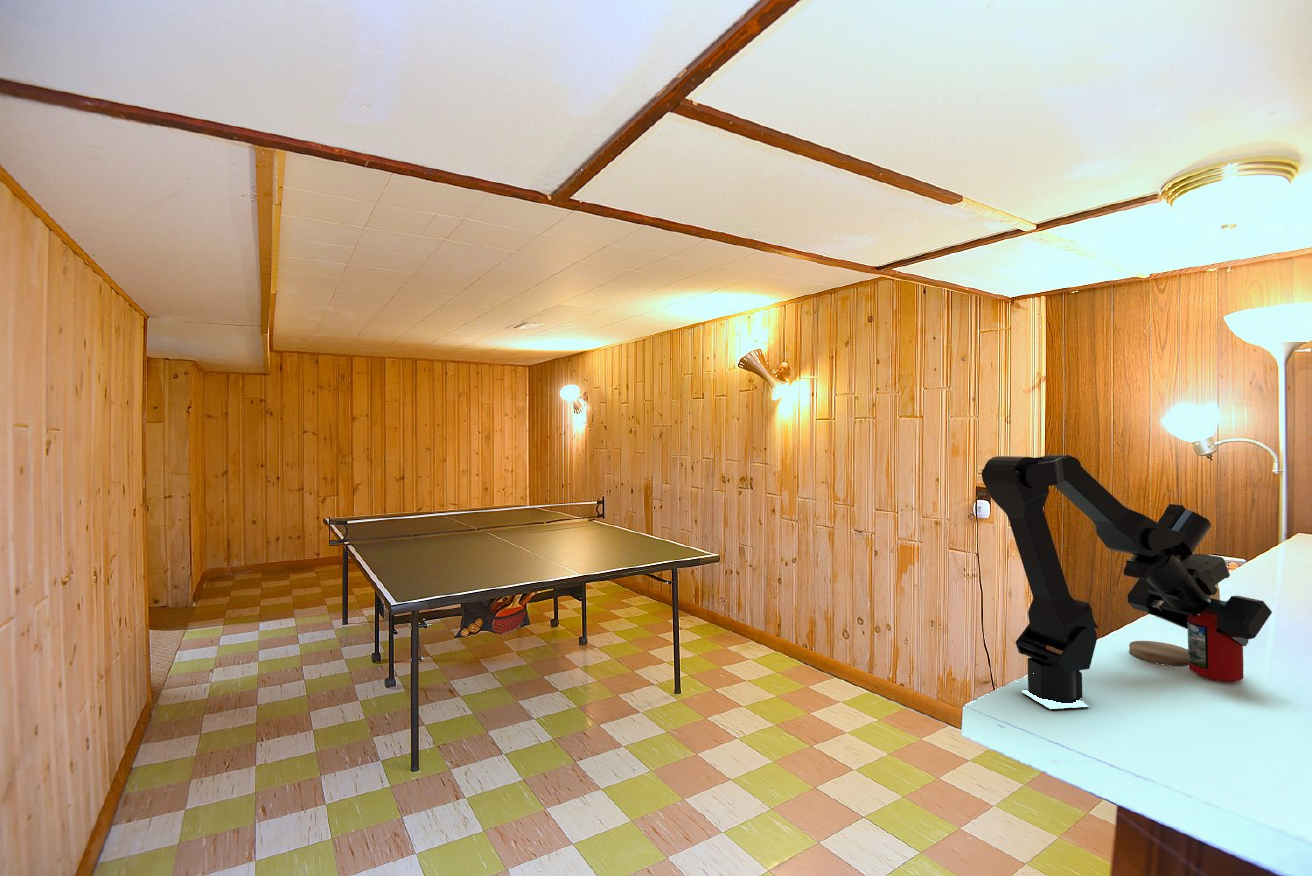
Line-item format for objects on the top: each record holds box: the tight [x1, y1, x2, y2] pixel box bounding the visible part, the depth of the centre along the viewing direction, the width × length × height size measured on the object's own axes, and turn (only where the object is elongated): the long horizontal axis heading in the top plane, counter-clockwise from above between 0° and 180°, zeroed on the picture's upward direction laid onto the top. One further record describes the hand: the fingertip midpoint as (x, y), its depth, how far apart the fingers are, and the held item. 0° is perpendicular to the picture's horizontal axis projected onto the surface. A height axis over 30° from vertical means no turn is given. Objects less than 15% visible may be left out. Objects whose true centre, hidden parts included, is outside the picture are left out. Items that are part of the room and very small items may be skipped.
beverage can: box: [1187, 611, 1245, 684], centre depth 100 cm, size 7×7×12 cm
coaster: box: [1128, 640, 1189, 667], centre depth 109 cm, size 9×9×2 cm
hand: (1221, 637), depth 100 cm, fingers closed on beverage can, 7 cm apart
